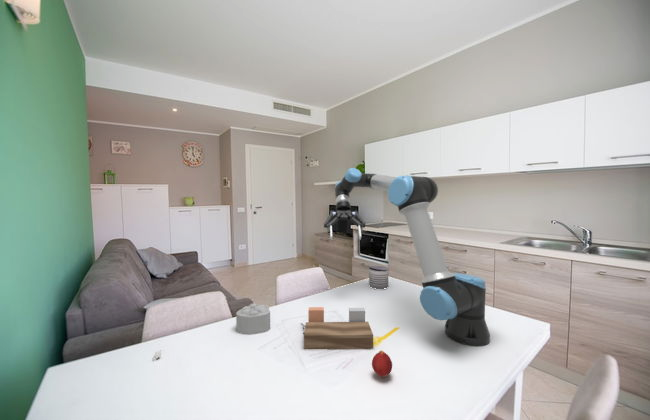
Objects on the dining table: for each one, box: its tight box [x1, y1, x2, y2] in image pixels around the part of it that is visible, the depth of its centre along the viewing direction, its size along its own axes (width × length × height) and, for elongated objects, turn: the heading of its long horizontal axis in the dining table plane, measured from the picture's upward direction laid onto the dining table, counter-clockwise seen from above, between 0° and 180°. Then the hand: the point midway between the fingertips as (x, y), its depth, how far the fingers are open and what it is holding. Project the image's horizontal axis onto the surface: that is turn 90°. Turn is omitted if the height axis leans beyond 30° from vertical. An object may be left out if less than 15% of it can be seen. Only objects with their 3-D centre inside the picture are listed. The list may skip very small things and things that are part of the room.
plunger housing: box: [303, 321, 374, 350], centre depth 98 cm, size 10×24×5 cm, turn 91°
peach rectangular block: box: [308, 306, 325, 322], centre depth 101 cm, size 12×6×8 cm, turn 1°
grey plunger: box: [348, 307, 366, 322], centre depth 101 cm, size 12×6×8 cm, turn 1°
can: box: [368, 265, 390, 290], centre depth 158 cm, size 11×11×12 cm
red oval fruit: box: [371, 349, 393, 378], centre depth 79 cm, size 6×6×8 cm
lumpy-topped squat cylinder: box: [235, 302, 271, 336], centre depth 108 cm, size 10×13×9 cm
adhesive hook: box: [151, 349, 164, 362], centre depth 88 cm, size 3×3×3 cm
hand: (345, 238), depth 125 cm, fingers open, 13 cm apart
